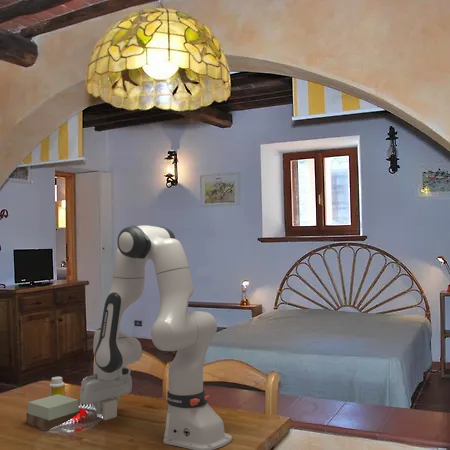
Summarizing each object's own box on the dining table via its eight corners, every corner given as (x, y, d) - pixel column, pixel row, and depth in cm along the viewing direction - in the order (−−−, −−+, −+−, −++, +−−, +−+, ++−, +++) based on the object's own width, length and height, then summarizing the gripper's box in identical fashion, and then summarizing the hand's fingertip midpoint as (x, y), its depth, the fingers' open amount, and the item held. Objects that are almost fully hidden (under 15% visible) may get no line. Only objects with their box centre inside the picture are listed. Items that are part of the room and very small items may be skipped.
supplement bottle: (67, 404, 216) (66, 377, 216) (53, 407, 213) (52, 380, 213) (61, 401, 220) (60, 375, 221) (47, 404, 217) (46, 377, 217)
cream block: (116, 416, 201) (116, 399, 201) (105, 420, 197) (105, 403, 197) (108, 413, 204) (108, 397, 205) (96, 417, 201) (96, 400, 201)
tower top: (78, 411, 197) (78, 399, 197) (48, 420, 188) (48, 408, 188) (58, 405, 204) (58, 394, 204) (28, 413, 195) (28, 402, 195)
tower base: (80, 422, 197) (80, 411, 197) (47, 433, 187) (46, 421, 187) (59, 415, 205) (59, 404, 206) (26, 424, 196) (26, 413, 196)
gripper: (86, 379, 191) (87, 420, 191) (134, 367, 207) (134, 406, 206) (76, 376, 195) (76, 416, 195) (123, 365, 211) (123, 402, 211)
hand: (106, 411), depth 201 cm, fingers closed on cream block, 5 cm apart
